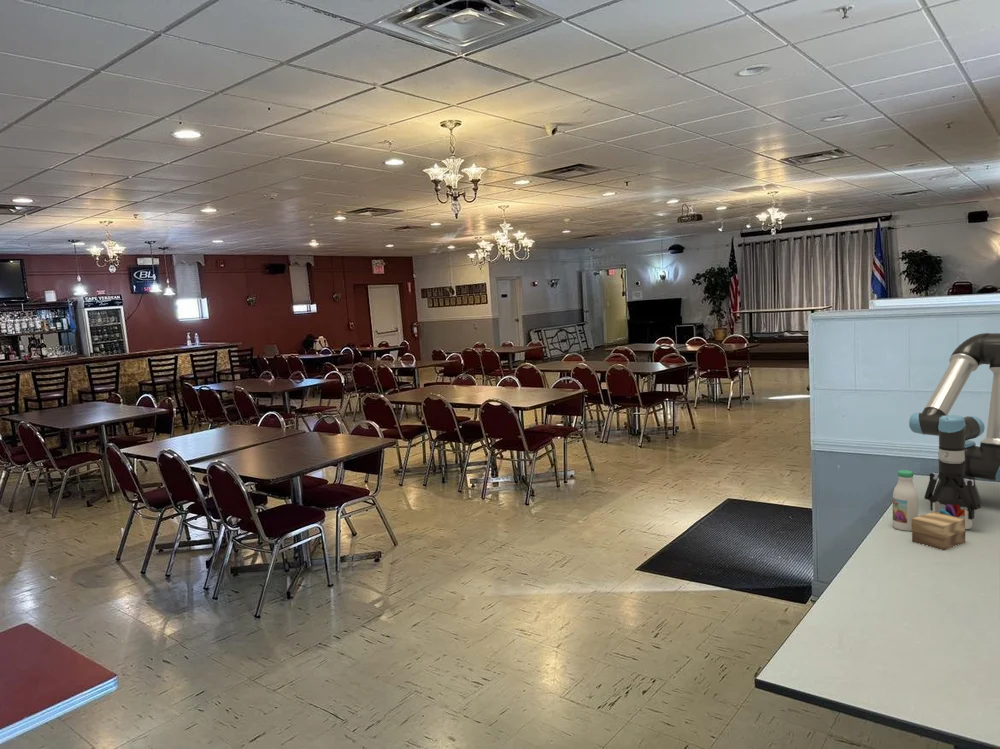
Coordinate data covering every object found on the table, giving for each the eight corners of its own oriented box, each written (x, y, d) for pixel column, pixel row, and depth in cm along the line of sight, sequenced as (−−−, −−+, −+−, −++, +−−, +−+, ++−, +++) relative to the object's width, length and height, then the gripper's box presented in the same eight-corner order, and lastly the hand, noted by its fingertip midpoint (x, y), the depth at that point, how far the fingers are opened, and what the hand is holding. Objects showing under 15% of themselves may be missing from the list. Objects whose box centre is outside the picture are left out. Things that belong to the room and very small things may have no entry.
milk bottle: (911, 524, 245) (911, 468, 243) (922, 531, 237) (922, 473, 235) (888, 524, 246) (888, 469, 244) (898, 531, 238) (898, 474, 236)
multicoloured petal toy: (974, 527, 236) (974, 507, 236) (945, 529, 236) (945, 508, 236) (958, 520, 245) (958, 499, 244) (930, 521, 245) (930, 501, 244)
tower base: (933, 535, 234) (933, 523, 234) (965, 543, 225) (965, 531, 225) (912, 542, 228) (912, 530, 228) (943, 551, 220) (943, 539, 219)
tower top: (933, 523, 234) (933, 511, 233) (964, 531, 225) (965, 519, 225) (911, 530, 228) (911, 518, 228) (942, 538, 219) (942, 526, 219)
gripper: (912, 457, 246) (912, 518, 249) (981, 468, 226) (981, 535, 229) (925, 453, 250) (925, 514, 252) (994, 464, 230) (993, 530, 232)
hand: (951, 524), depth 241 cm, fingers closed on multicoloured petal toy, 10 cm apart
